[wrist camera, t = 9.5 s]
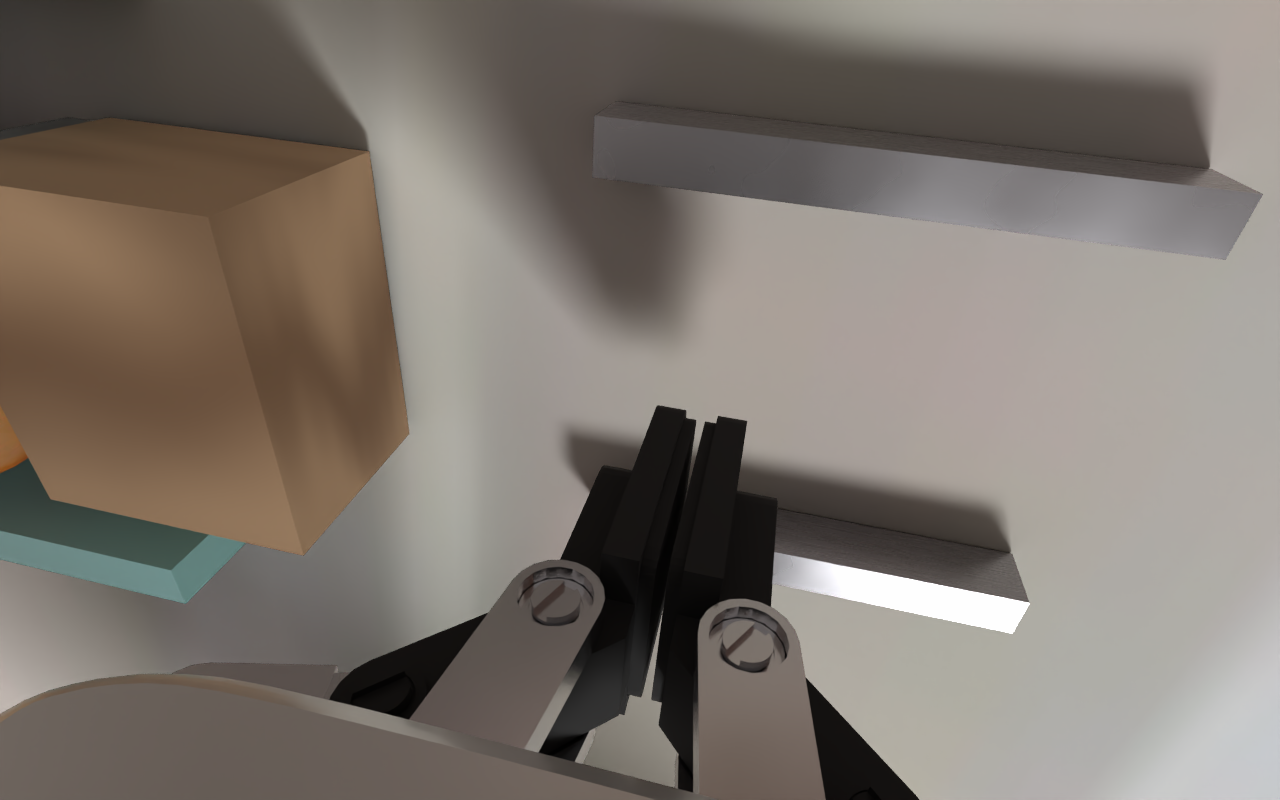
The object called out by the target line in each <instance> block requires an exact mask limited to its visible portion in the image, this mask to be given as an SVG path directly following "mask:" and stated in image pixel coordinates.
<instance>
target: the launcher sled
mask: <svg viewBox="0 0 1280 800" xmlns="http://www.w3.org/2000/svg"><path fill="white" fill-rule="evenodd" d="M0 406H1V408H2V410H3V412H4V413H5V415H6V417H7V419H8V421H9V423H10V425H11V427H12V428H13V430H14V432H15V434H16V436H17V438H18V440H19V442H20V443H21V445H22V447H23V449H24V451H25V453H26V455H27V456H28V458H29V460H30V462H31V464H32V466H33V468H34V470H35V471H36V473H37V475H38V477H39V479H40V481H41V483H42V484H43V486H44V488H45V490H46V492H47V494H48V496H49V498H50V499H51V500H56V501H60V502H65V503H69V504H74V505H78V506H83V507H87V508H92V509H96V510H101V511H105V512H110V513H114V514H119V515H123V516H128V517H132V518H137V519H141V520H146V521H150V522H155V523H159V524H164V525H168V526H173V527H177V528H182V529H186V530H191V531H195V532H200V533H204V534H209V535H213V536H218V537H222V538H227V539H231V540H236V541H240V542H245V543H249V544H254V545H258V546H263V547H267V548H272V549H276V550H281V551H285V552H290V553H294V554H299V555H303V556H304V554H305V553H306V552H307V551H308V550H309V549H310V548H311V546H312V545H313V544H314V543H315V542H316V541H317V540H318V538H319V537H320V536H321V535H322V534H323V533H324V531H325V530H326V529H327V528H328V527H329V526H330V525H331V523H332V522H333V521H334V520H335V519H336V518H337V516H338V515H339V514H340V513H341V512H342V511H343V510H344V508H345V507H346V506H347V505H348V504H349V503H350V501H351V500H352V499H353V498H354V497H355V496H356V495H357V493H358V492H359V491H360V490H361V489H362V488H363V487H364V485H365V484H366V483H367V482H368V481H369V480H370V478H371V477H372V476H373V475H374V474H375V473H376V472H377V470H378V469H379V468H380V467H381V466H382V465H383V463H384V462H385V461H386V460H387V459H388V458H389V457H390V455H391V454H392V453H393V452H394V451H395V450H396V448H397V447H398V446H399V445H400V444H401V443H402V442H403V440H404V439H405V438H406V437H407V436H408V435H409V427H408V420H407V413H406V406H405V399H404V392H403V385H402V378H401V371H400V364H399V357H398V350H397V343H396V336H395V329H394V322H393V315H392V308H391V301H390V294H389V287H388V280H387V273H386V266H385V259H384V252H383V245H382V238H381V231H380V224H379V217H378V210H377V203H376V196H375V189H374V182H373V175H372V168H371V161H370V154H369V151H361V150H354V149H346V148H339V147H331V146H323V145H316V144H308V143H300V142H293V141H285V140H277V139H270V138H262V137H255V136H247V135H239V134H232V133H224V132H216V131H209V130H201V129H193V128H186V127H178V126H171V125H163V124H155V123H148V122H140V121H132V120H125V119H117V118H110V117H109V118H104V119H99V120H94V121H90V120H82V119H75V118H63V119H58V120H53V121H48V122H43V123H38V124H32V125H27V126H22V127H17V128H12V129H7V130H2V131H0Z"/></svg>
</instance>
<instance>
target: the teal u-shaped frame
mask: <svg viewBox="0 0 1280 800" xmlns="http://www.w3.org/2000/svg"><path fill="white" fill-rule="evenodd" d="M244 544H245V542H240V541H236V540H231V539H227V538H222V537H218V536H213V535H209V534H204V533H200V532H195V531H191V530H186V529H182V528H177V527H173V526H168V525H164V524H159V523H155V522H150V521H146V520H141V519H137V518H132V517H128V516H123V515H119V514H114V513H110V512H105V511H101V510H96V509H92V508H87V507H83V506H78V505H74V504H69V503H65V502H60V501H56V500H51V499H50V498H49V496H48V494H47V492H46V490H45V488H44V486H43V484H42V483H41V481H40V479H39V477H38V475H37V473H36V471H35V470H34V468H33V466H32V464H31V462H30V460H29V458H27V459H26V460H25V461H23V462H21V463H20V464H18V465H16V466H15V467H13V468H11V469H8V470H6V471H4V472H2V473H0V560H4V561H9V562H13V563H17V564H21V565H25V566H30V567H34V568H38V569H42V570H46V571H50V572H55V573H59V574H63V575H67V576H71V577H75V578H80V579H84V580H88V581H92V582H96V583H100V584H105V585H109V586H113V587H117V588H121V589H126V590H130V591H134V592H138V593H142V594H146V595H151V596H155V597H159V598H163V599H167V600H171V601H176V602H180V603H184V604H186V603H187V602H188V601H189V600H190V599H191V598H192V597H193V596H194V595H195V594H196V593H197V592H198V591H199V590H200V589H201V588H202V587H203V586H204V585H205V584H206V583H207V582H208V581H209V580H210V579H211V578H212V577H213V576H214V575H215V574H216V573H217V572H218V571H219V570H220V569H221V568H222V567H223V566H224V565H225V564H226V563H227V562H228V561H229V560H230V559H231V558H232V557H233V556H234V555H235V553H236V552H237V551H238V550H239V549H240V548H241V547H242V546H243V545H244Z"/></svg>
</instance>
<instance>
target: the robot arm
mask: <svg viewBox="0 0 1280 800" xmlns="http://www.w3.org/2000/svg"><path fill="white" fill-rule="evenodd" d="M746 426H747V421H744V420H738V419H732V418H727V417H721V416H718V418H717V423H710V422H705V424H704V428H703V432H702V436H701V440H700V444H699V448H698V452H697V456H696V460H695V464H694V468H693V472H692V476H691V480H690V484H689V488H688V492H687V485H688V477H689V470H690V463H691V456H692V449H693V442H694V434H695V427H696V420H694V419H688V418H686V410H681V409H676V408H670V407H664V406H659V405H658V406H657V407H656V409H655V412H654V415H653V417H652V420H651V423H650V425H649V428H648V431H647V433H646V436H645V438H644V441H643V444H642V446H641V449H640V452H639V454H638V457H637V460H636V462H635V465H634V468H633V470H632V471H631V470H626V469H621V468H615V467H610V466H605V465H604V466H603V467H602V468H601V470H600V472H599V474H598V476H597V478H596V480H595V483H594V485H593V487H592V489H591V492H590V494H589V496H588V498H587V501H586V503H585V505H584V507H583V510H582V512H581V514H580V516H579V519H578V521H577V523H576V525H575V528H574V530H573V532H572V534H571V537H570V539H569V541H568V543H567V546H566V548H565V550H564V552H563V554H562V557H561V559H560V560H547V561H543V562H539V563H535V564H533V565H531V566H529V567H528V568H526V569H524V570H522V571H521V572H520V573H519V574H518V575H517V576H516V577H515V578H514V579H513V580H512V581H511V583H510V584H509V585H508V587H507V588H506V590H505V591H504V592H503V594H502V595H501V596H500V598H499V599H498V600H497V602H496V603H495V604H494V606H493V607H492V608H491V610H490V611H489V612H488V613H486V614H484V615H481V616H479V617H476V618H474V619H471V620H469V621H466V622H464V623H462V624H459V625H457V626H454V627H452V628H449V629H447V630H444V631H442V632H439V633H437V634H435V635H432V636H430V637H427V638H425V639H422V640H420V641H417V642H415V643H412V644H410V645H408V646H405V647H403V648H400V649H398V650H395V651H393V652H390V653H388V654H385V655H383V656H380V657H378V658H376V659H373V660H371V661H369V662H367V663H365V664H363V665H361V666H359V667H358V668H356V669H354V670H353V671H352V672H350V673H339V672H338V668H337V665H303V664H256V663H203V664H196V665H191V666H188V667H186V668H183V669H181V670H178V671H176V672H173V673H172V674H136V675H127V676H118V677H109V678H101V679H95V680H90V681H85V682H80V683H75V684H71V685H67V686H64V687H60V688H56V689H52V690H49V691H46V692H44V693H41V694H39V695H36V696H34V697H31V698H29V699H26V700H24V701H22V702H21V703H19V704H17V705H15V706H13V707H12V708H10V709H8V710H6V711H4V712H3V713H1V714H0V800H919V799H918V797H917V796H916V795H915V794H914V793H913V792H912V791H911V790H910V789H909V788H908V786H907V785H906V784H905V783H904V782H903V781H902V780H901V779H900V778H899V777H898V776H897V775H896V774H895V773H894V771H893V770H892V769H891V768H890V767H889V766H888V765H887V764H886V763H885V762H884V761H883V760H882V759H881V758H880V756H879V755H878V754H877V753H876V752H875V751H874V750H873V749H872V748H871V747H870V746H869V745H868V744H867V743H866V741H865V740H864V739H863V738H862V737H861V736H860V735H859V734H858V733H857V732H856V731H855V730H854V729H853V728H852V726H851V725H850V724H849V723H848V722H847V721H846V720H845V719H844V718H843V717H842V716H841V715H840V714H839V713H838V711H837V710H836V709H835V708H834V707H833V706H832V705H831V704H830V703H829V702H828V701H827V700H826V699H825V698H824V697H823V695H822V694H821V693H820V692H819V691H818V690H817V689H816V688H815V687H814V686H813V685H812V684H811V683H810V682H809V680H808V679H807V678H806V677H805V672H804V666H803V659H802V653H801V647H800V642H799V640H798V637H797V634H796V631H795V629H794V628H793V627H792V625H791V624H790V623H789V621H788V620H787V618H785V617H784V616H783V615H782V614H780V613H779V612H778V611H777V610H775V609H774V608H772V607H771V596H772V581H773V565H774V550H775V535H776V520H777V502H778V501H777V498H771V497H766V496H761V495H756V494H751V493H745V492H740V491H737V485H738V479H739V472H740V465H741V459H742V452H743V445H744V439H745V432H746ZM686 492H687V496H686ZM685 499H686V500H685ZM662 611H663V615H662ZM661 615H662V622H661V630H660V638H659V645H658V653H657V660H656V668H655V675H654V683H653V691H652V700H654V701H658V702H662V705H661V712H660V719H659V726H660V728H661V729H662V731H663V732H664V734H665V735H666V737H667V738H668V739H669V741H670V742H671V744H672V745H673V747H674V748H675V750H676V751H677V754H676V760H675V783H674V788H673V787H669V786H665V785H661V784H657V783H653V782H650V781H646V780H642V779H638V778H634V777H630V776H627V775H623V774H619V773H615V772H611V771H607V770H603V769H600V768H596V767H592V766H588V765H584V764H583V763H584V760H585V758H586V756H587V754H588V752H589V750H590V748H591V745H592V743H593V740H594V737H595V733H596V727H598V726H600V725H601V724H603V723H605V722H607V721H609V720H611V719H613V718H614V717H616V716H618V715H619V714H622V715H624V714H625V710H626V706H627V702H628V699H629V695H633V696H637V697H641V696H642V693H643V689H644V685H645V681H646V677H647V673H648V669H649V665H650V660H651V656H652V652H653V648H654V644H655V640H656V636H657V632H658V627H659V623H660V619H661Z"/></svg>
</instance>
